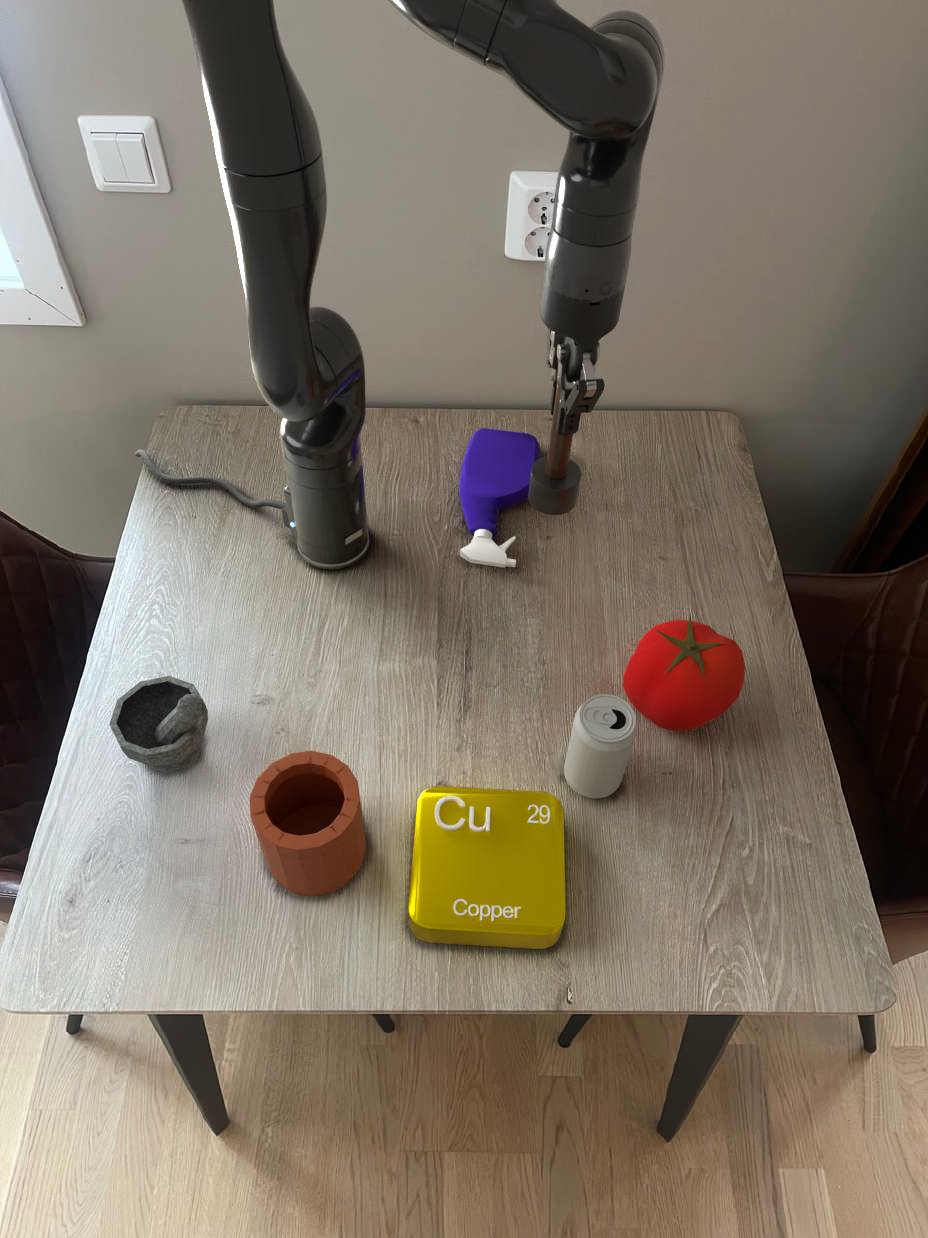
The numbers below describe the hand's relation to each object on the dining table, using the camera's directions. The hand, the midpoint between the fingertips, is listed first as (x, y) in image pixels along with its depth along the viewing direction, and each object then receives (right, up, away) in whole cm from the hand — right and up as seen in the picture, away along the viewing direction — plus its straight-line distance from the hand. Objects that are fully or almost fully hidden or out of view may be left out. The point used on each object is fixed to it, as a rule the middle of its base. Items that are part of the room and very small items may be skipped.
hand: (563, 422), depth 97 cm
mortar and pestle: (-42, -35, +5) cm, 55 cm away
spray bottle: (-6, -5, +30) cm, 31 cm away
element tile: (-8, -47, -3) cm, 48 cm away
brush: (0, -7, +9) cm, 11 cm away
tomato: (+14, -30, +11) cm, 35 cm away
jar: (-26, -44, -2) cm, 51 cm away
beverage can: (+4, -38, +5) cm, 38 cm away
